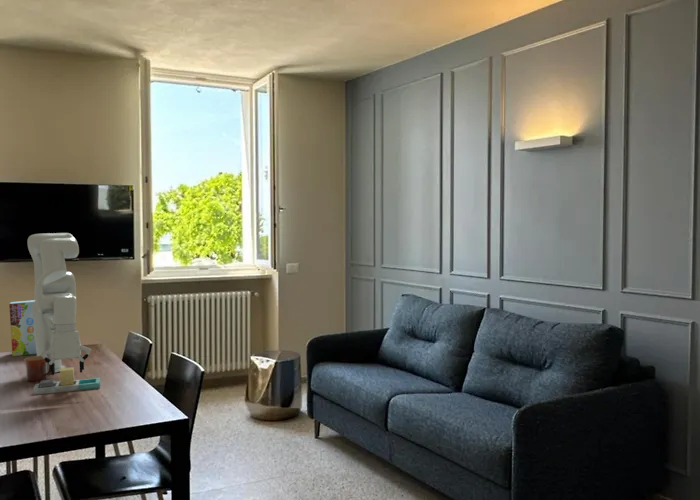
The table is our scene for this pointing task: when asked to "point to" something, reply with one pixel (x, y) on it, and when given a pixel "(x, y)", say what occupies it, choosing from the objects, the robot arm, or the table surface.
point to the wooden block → (67, 376)
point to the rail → (68, 386)
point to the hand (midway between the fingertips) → (67, 373)
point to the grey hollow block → (47, 383)
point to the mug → (36, 369)
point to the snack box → (22, 328)
